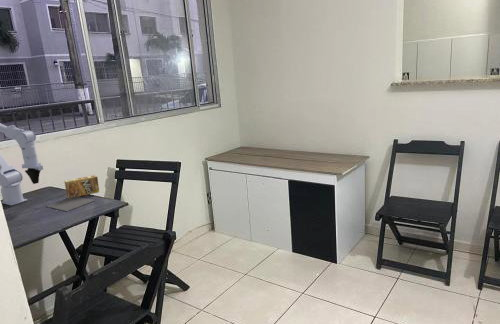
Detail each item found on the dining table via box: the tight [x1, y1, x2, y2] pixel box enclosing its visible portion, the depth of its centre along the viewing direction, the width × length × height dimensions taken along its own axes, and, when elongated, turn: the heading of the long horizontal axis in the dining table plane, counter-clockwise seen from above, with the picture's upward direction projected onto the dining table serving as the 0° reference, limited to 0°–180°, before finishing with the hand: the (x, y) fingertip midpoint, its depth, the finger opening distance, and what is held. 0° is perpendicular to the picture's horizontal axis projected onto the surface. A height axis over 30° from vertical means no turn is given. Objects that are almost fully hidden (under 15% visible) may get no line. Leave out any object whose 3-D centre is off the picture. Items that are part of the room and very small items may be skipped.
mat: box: [46, 196, 96, 212], centre depth 177 cm, size 16×15×1 cm
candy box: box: [64, 174, 100, 199], centre depth 189 cm, size 9×4×15 cm
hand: (35, 183), depth 178 cm, fingers closed
